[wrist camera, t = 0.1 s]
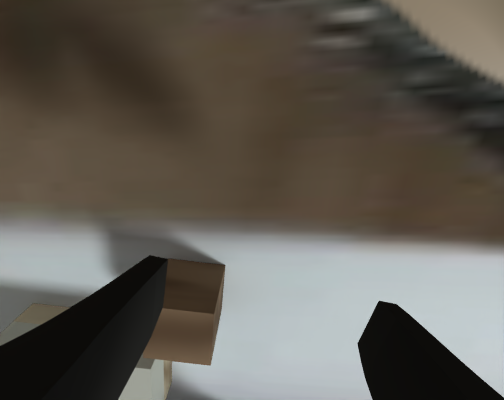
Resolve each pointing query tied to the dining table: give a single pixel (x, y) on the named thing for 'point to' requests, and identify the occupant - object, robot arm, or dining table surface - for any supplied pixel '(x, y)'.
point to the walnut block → (188, 313)
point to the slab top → (140, 382)
